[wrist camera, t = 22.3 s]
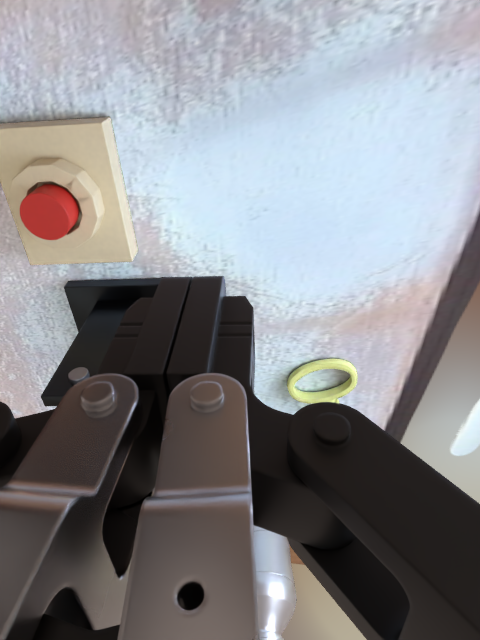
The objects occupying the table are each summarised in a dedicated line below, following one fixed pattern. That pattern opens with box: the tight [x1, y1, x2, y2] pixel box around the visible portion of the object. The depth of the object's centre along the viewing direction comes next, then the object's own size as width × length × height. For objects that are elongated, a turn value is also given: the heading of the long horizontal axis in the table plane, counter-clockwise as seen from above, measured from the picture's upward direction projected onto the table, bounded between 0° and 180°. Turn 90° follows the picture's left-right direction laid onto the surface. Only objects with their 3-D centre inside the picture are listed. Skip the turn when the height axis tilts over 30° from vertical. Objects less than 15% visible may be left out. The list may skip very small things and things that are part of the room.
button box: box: [0, 117, 138, 265], centre depth 35 cm, size 11×9×4 cm
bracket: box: [41, 278, 161, 406], centre depth 38 cm, size 10×8×14 cm
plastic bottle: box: [253, 525, 297, 640], centre depth 48 cm, size 6×7×20 cm
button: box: [20, 184, 79, 240], centre depth 33 cm, size 4×4×2 cm
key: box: [287, 359, 357, 403], centre depth 47 cm, size 7×12×2 cm, turn 40°
